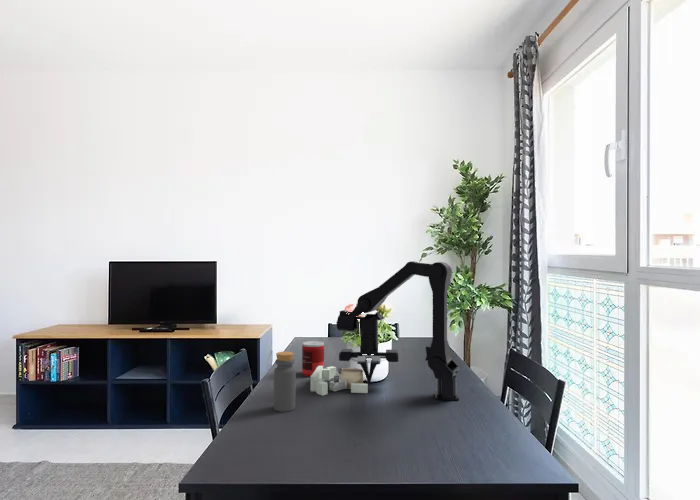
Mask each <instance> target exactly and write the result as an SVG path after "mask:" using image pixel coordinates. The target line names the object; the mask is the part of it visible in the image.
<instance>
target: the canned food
mask: <svg viewBox="0 0 700 500" xmlns="http://www.w3.org/2000/svg"><path fill="white" fill-rule="evenodd" d="M301 357H302V359H301V370H302V371H301V373H302V376H304V377H308V378H311V375H312V374H313V373H314V371H315V370H316V368H317V367H318V366H323V369H325V342H323V341H320V340H310V341H309V340H308V341H304V342H302V346H301Z"/></svg>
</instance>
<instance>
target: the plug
mask: <svg viewBox="0 0 700 500" xmlns="http://www.w3.org/2000/svg"><path fill="white" fill-rule="evenodd" d="M358 368H359V367H345V368H344V367H343V369H341V379H344V380H347V389H346V390H351V383H364V382H363V373H364V370H363V368H362V369H361V368H359V369H358Z"/></svg>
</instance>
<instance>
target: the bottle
mask: <svg viewBox="0 0 700 500" xmlns="http://www.w3.org/2000/svg"><path fill="white" fill-rule="evenodd" d="M294 354H295V353H294V352H293V351H279V352H278V351H277V352H276V359H275V360H274V362H275V365H276V367H274V369H273V410H274V411H275V412H281V413H285V412H292V411H293V410H295V409H296V392H297V391H296V390H297V389H296V387H297V386H296V379H297V378H296V376H297V375H296V371H297V370H296V368H295V367H294V366H293V365H294V364H295V359H294Z"/></svg>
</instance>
